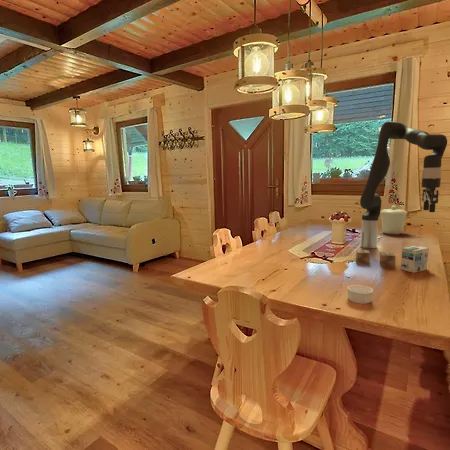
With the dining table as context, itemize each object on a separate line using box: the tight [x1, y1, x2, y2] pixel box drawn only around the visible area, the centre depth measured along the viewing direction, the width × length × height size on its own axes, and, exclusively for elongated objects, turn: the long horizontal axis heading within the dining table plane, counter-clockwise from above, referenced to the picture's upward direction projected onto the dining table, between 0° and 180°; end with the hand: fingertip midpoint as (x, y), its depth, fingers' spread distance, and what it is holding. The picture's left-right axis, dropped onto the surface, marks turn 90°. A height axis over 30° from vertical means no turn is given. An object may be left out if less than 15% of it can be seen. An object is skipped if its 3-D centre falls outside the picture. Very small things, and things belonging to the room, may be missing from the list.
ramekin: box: [347, 284, 374, 305], centre depth 116 cm, size 9×9×4 cm
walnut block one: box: [379, 252, 396, 269], centre depth 157 cm, size 6×6×6 cm
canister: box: [380, 205, 409, 235], centre depth 234 cm, size 18×18×21 cm
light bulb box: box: [400, 244, 429, 274], centre depth 149 cm, size 11×7×11 cm, turn 117°
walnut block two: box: [355, 249, 371, 265], centre depth 163 cm, size 6×6×6 cm
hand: (428, 211), depth 152 cm, fingers open, 8 cm apart
